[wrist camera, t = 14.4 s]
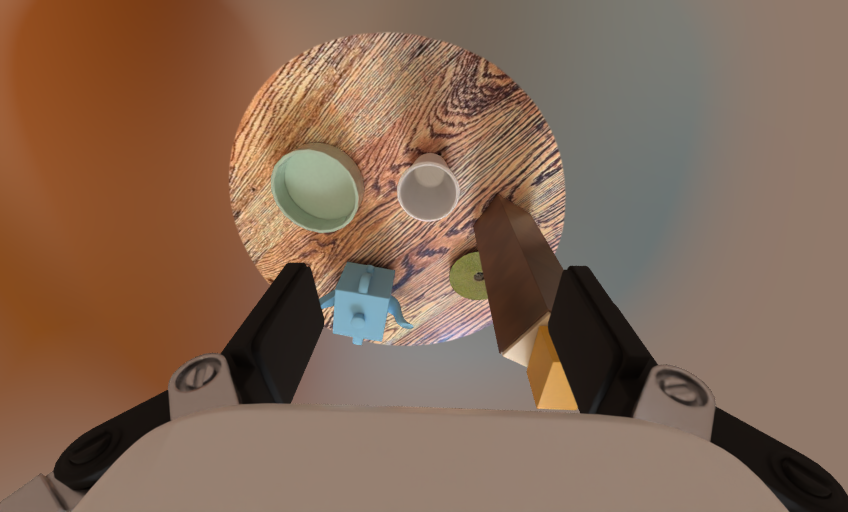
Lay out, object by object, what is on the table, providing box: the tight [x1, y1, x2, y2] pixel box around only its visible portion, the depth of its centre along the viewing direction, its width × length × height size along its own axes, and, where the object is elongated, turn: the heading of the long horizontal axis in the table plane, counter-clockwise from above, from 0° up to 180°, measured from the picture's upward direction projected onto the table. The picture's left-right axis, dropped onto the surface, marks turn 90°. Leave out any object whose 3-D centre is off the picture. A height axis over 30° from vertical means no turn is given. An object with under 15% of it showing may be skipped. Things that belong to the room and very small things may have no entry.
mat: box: [449, 252, 488, 300], centre depth 59 cm, size 11×11×2 cm
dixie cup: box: [397, 153, 460, 221], centre depth 45 cm, size 8×8×10 cm
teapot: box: [319, 262, 413, 345], centre depth 58 cm, size 16×18×11 cm
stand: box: [473, 194, 563, 367], centre depth 42 cm, size 7×7×28 cm
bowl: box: [271, 143, 364, 233], centre depth 49 cm, size 13×13×4 cm
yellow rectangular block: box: [527, 326, 578, 410], centre depth 28 cm, size 6×4×4 cm, turn 0°
